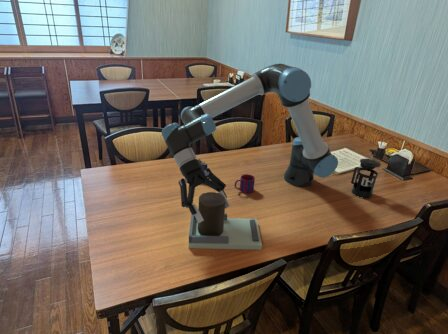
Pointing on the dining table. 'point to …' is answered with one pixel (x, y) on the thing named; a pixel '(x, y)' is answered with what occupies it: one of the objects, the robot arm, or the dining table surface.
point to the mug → (246, 183)
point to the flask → (203, 165)
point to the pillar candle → (211, 214)
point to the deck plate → (228, 235)
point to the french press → (363, 182)
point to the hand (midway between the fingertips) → (215, 214)
